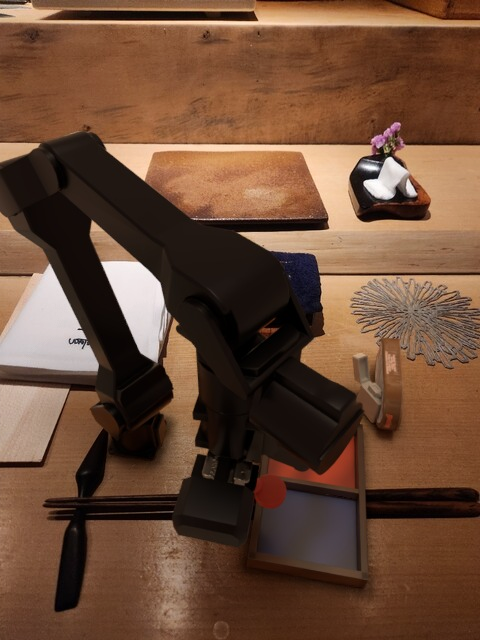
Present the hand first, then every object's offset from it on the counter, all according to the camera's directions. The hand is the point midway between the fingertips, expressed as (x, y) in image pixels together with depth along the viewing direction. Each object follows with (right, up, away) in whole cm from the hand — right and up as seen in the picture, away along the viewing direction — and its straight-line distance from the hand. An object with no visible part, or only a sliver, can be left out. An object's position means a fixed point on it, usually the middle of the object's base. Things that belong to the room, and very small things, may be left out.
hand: (231, 481), depth 49 cm
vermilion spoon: (+1, -1, +1) cm, 2 cm away
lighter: (+20, +2, +20) cm, 29 cm away
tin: (+22, +5, +21) cm, 31 cm away
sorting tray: (+10, -5, +10) cm, 15 cm away
